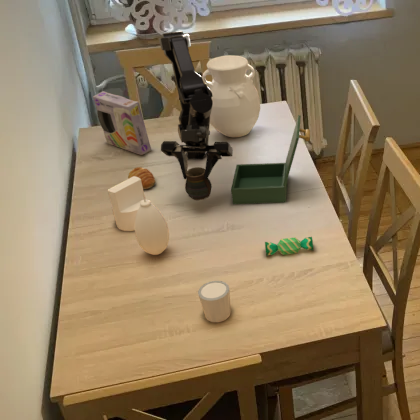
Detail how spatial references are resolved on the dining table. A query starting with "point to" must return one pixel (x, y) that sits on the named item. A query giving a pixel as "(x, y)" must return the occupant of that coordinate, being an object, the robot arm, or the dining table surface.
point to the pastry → (143, 177)
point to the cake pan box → (122, 122)
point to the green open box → (259, 183)
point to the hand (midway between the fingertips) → (195, 179)
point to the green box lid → (294, 147)
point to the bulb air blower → (151, 228)
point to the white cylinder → (215, 300)
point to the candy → (289, 246)
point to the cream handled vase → (232, 95)
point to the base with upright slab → (126, 202)
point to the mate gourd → (197, 184)
